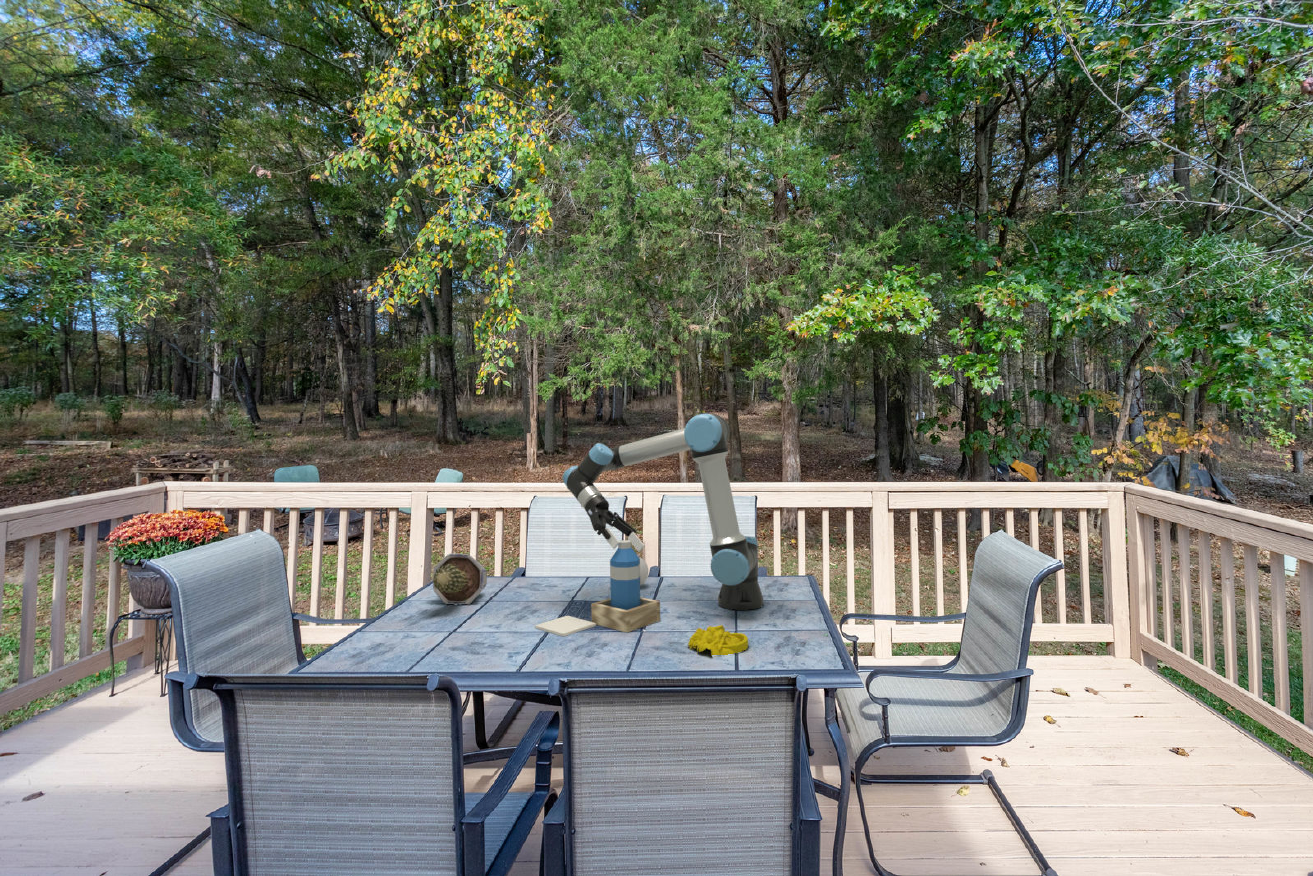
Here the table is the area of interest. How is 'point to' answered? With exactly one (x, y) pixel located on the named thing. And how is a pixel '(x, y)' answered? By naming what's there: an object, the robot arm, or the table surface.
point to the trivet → (565, 625)
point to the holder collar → (625, 615)
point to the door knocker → (718, 641)
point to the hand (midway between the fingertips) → (629, 547)
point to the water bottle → (625, 577)
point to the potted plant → (459, 579)
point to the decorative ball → (643, 571)
